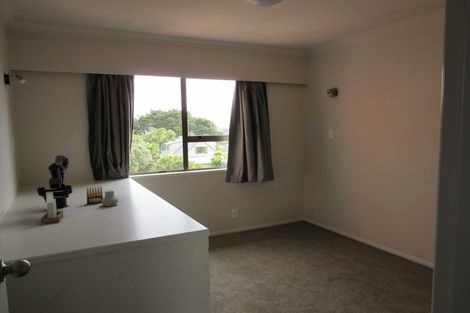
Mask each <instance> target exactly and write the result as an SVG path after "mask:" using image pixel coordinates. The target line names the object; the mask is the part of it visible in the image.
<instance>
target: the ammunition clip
mask: <svg viewBox="0 0 470 313" xmlns="http://www.w3.org/2000/svg"><path fill="white" fill-rule="evenodd" d="M103 195H104V194H103V187H102V186H100V187H99V186H98V185H97V186H95V187H94V186H92V187H91V186H89V187H88V186H87V187H86V205H93V204H95V203H96V204H102V203H101V200H102V199H103V198H104V196H103Z"/></svg>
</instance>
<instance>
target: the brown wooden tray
mask: <svg viewBox="0 0 470 313" xmlns="http://www.w3.org/2000/svg"><path fill="white" fill-rule="evenodd" d="M56 212H57V216H56V217H52V218H48V211H46V212H45V213H44V215H43V216H42V217H41V218H40V225H45V224H47V225H48V224H56V223H58V224H59V223H60V222H61V221H62V219H63V217H64V211H63V210H56Z"/></svg>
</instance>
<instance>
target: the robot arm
mask: <svg viewBox="0 0 470 313" xmlns="http://www.w3.org/2000/svg"><path fill="white" fill-rule="evenodd" d="M69 165H70V160H69V157H66V156H65V155H56V156H55V158H54V162H52V164H50V165H49V166H48V168H47V169H48V171H49V175H50V178H49V179H48V184H49V186H48V187H49V188H46V186H39V187H37V188H36V191H37V194H38V197H42V198H43V200H44V202H45V204H47V203H48V201H47V200H48V197H47V193H52V198H53V199H52V200H55V199H56V209H63V208H66V207H67V208H68V207H69V205H68V203H67V199H68V198H70V196H69V195H70V194H73V186H72V185H71V184H68V185H67V184H65V177H66V170H68V168H69Z"/></svg>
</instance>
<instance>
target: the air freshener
mask: <svg viewBox="0 0 470 313" xmlns="http://www.w3.org/2000/svg"><path fill="white" fill-rule="evenodd" d="M118 203H119V199H118V197H116V196H115V191H114V190H111V189H109V190H105V191H104V196H103V199H102V200H101V203H100V204H101V205H103V206H105V207H112V206H115V205H117V204H118Z"/></svg>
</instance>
